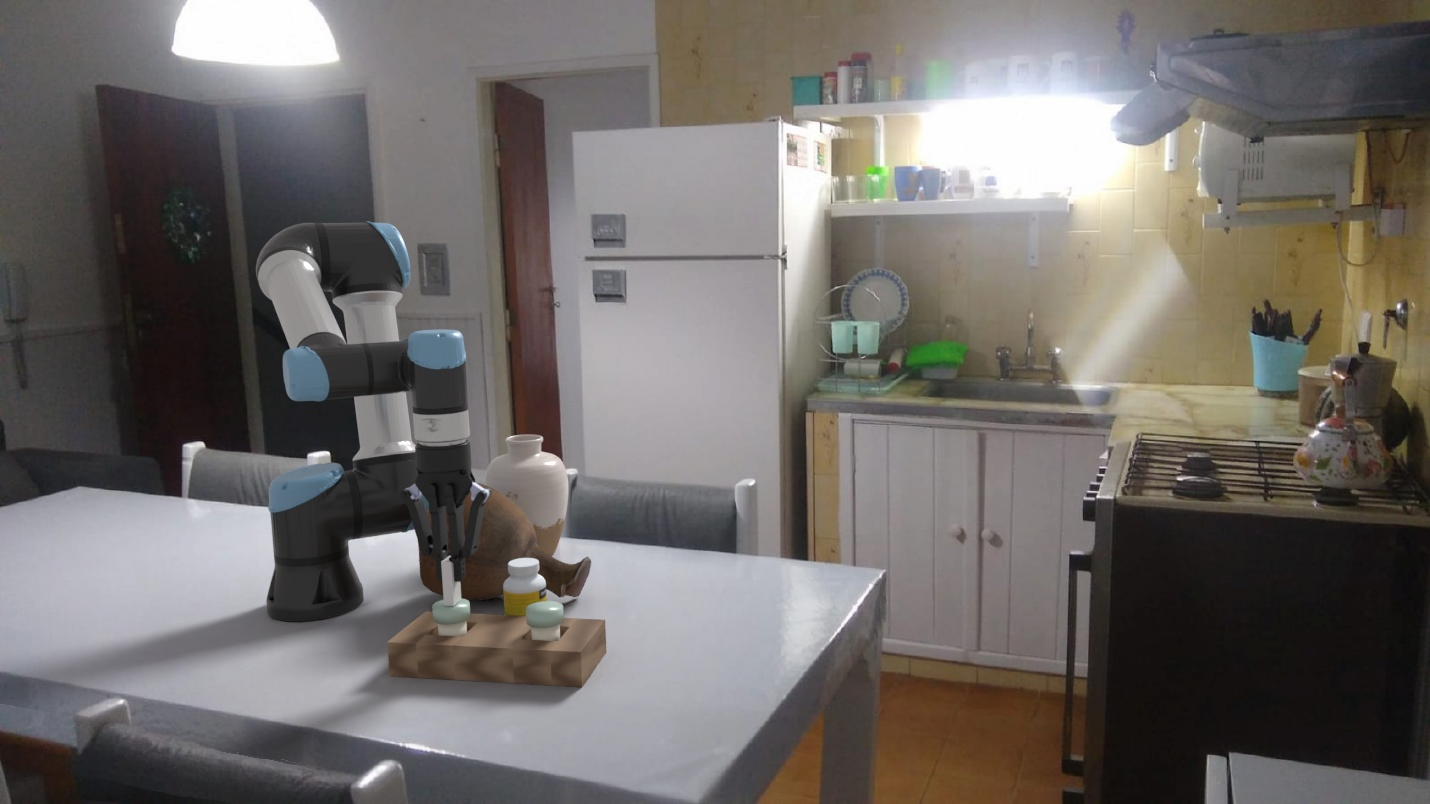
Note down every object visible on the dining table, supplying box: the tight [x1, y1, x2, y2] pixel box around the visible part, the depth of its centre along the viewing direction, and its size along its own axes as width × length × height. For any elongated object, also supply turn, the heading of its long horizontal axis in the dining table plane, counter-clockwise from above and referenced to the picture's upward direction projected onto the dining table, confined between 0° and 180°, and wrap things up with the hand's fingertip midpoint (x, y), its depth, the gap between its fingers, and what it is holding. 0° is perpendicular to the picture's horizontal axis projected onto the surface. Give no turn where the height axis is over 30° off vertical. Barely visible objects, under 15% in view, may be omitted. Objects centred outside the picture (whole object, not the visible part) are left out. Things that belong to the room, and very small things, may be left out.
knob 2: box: [526, 600, 565, 641], centre depth 147 cm, size 5×5×8 cm
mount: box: [386, 611, 607, 688], centre depth 149 cm, size 28×12×5 cm, turn 80°
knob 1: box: [431, 598, 471, 636], centre depth 150 cm, size 5×5×8 cm
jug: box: [417, 482, 592, 601], centre depth 174 cm, size 20×20×30 cm
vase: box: [483, 433, 569, 557], centre depth 199 cm, size 16×16×23 cm
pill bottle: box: [503, 558, 548, 616], centre depth 159 cm, size 6×6×12 cm
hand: (452, 602), depth 149 cm, fingers closed
